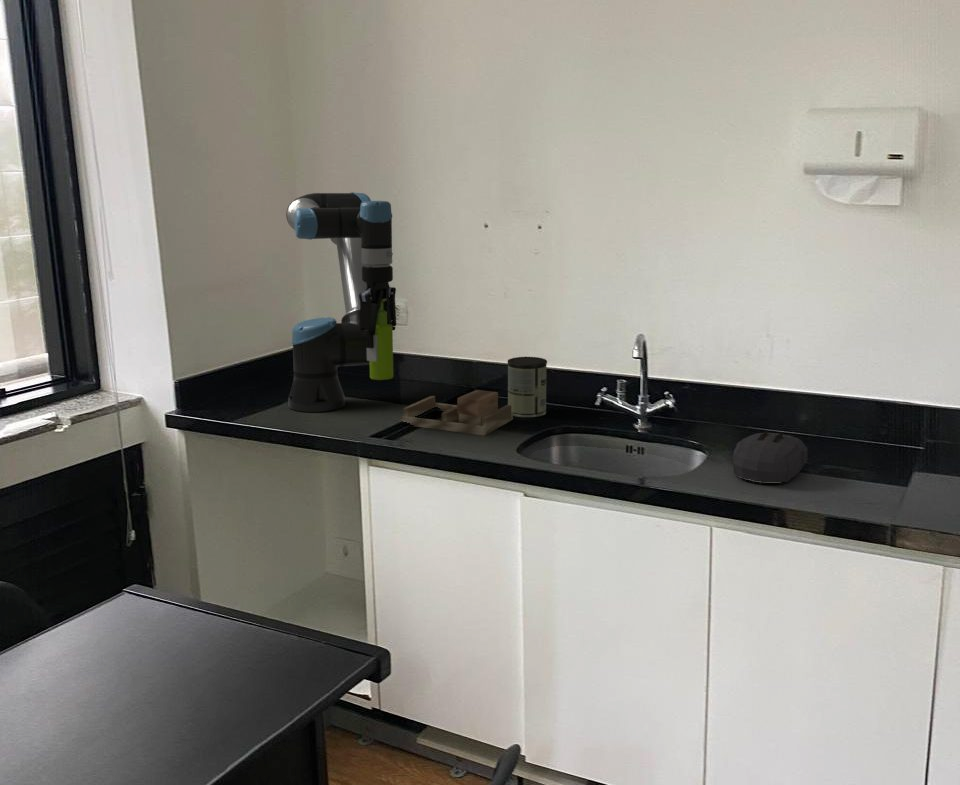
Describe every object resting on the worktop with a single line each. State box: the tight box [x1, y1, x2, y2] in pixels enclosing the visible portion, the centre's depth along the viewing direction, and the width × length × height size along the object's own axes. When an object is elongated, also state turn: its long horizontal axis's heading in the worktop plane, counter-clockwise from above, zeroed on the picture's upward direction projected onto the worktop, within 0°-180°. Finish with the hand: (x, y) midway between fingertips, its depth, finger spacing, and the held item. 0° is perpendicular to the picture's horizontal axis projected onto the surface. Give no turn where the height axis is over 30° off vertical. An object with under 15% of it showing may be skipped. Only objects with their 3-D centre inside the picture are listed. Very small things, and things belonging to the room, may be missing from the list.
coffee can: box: [507, 356, 548, 418], centre depth 266 cm, size 10×10×14 cm
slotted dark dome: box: [732, 430, 808, 483], centre depth 217 cm, size 15×8×20 cm
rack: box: [400, 395, 514, 436], centre depth 258 cm, size 23×17×4 cm
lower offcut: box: [459, 407, 499, 426], centre depth 255 cm, size 6×10×4 cm, turn 154°
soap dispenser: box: [369, 298, 394, 381], centre depth 252 cm, size 6×7×20 cm
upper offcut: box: [456, 389, 499, 417], centre depth 254 cm, size 6×10×4 cm, turn 151°
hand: (379, 358), depth 253 cm, fingers closed on soap dispenser, 6 cm apart
